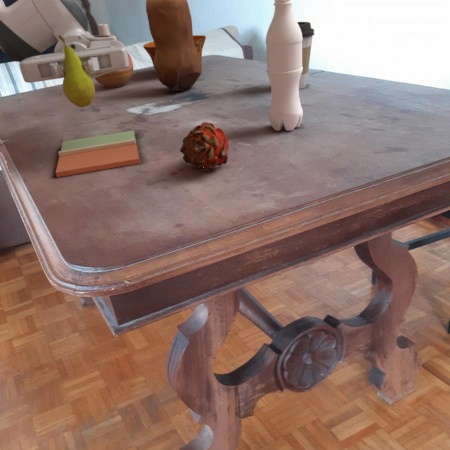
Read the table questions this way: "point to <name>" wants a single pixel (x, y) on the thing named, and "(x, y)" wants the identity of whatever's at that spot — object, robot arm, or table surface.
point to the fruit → (76, 79)
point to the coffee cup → (305, 51)
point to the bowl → (197, 41)
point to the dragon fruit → (205, 147)
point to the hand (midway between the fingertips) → (74, 70)
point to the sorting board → (97, 153)
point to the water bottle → (284, 67)
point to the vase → (119, 76)
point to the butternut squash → (173, 43)
